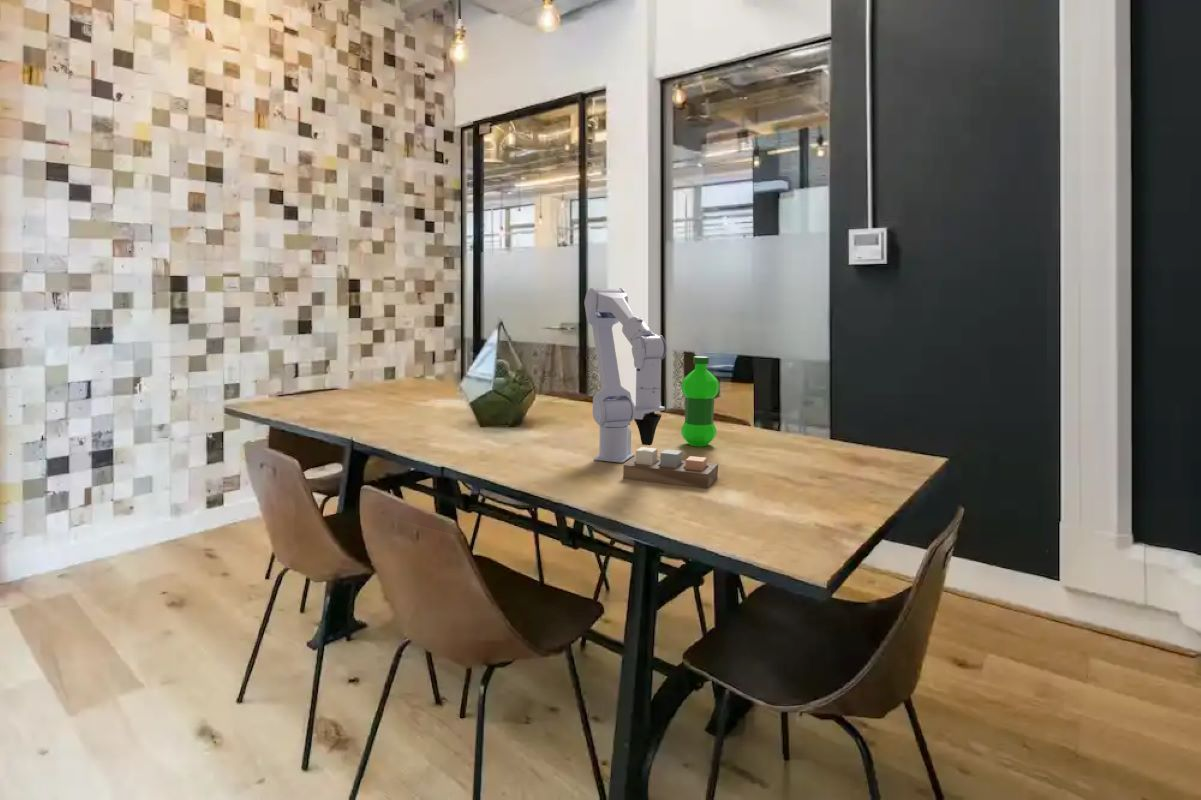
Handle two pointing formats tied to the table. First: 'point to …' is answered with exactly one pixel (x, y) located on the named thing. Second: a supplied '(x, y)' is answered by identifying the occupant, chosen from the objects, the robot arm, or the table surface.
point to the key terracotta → (696, 463)
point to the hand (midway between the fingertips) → (647, 444)
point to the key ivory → (646, 456)
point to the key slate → (671, 458)
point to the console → (671, 474)
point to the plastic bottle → (699, 404)
